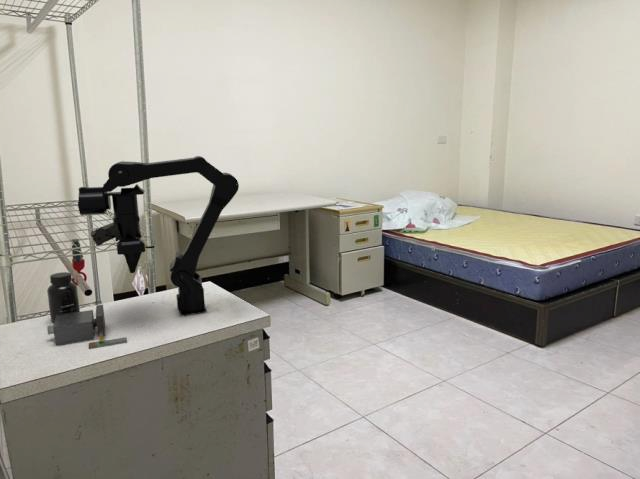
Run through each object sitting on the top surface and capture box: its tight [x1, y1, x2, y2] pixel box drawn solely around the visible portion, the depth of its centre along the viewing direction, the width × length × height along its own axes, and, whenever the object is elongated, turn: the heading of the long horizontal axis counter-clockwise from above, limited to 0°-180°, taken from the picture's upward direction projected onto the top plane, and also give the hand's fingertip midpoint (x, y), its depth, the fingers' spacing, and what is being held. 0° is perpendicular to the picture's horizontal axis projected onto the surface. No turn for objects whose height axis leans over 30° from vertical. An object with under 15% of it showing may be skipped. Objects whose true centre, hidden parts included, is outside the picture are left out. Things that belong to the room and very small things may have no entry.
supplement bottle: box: [46, 271, 81, 323], centre depth 123 cm, size 7×7×12 cm
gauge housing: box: [53, 309, 128, 350], centre depth 113 cm, size 15×13×4 cm
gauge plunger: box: [46, 304, 106, 342], centre depth 112 cm, size 12×13×5 cm
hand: (132, 272), depth 123 cm, fingers closed
